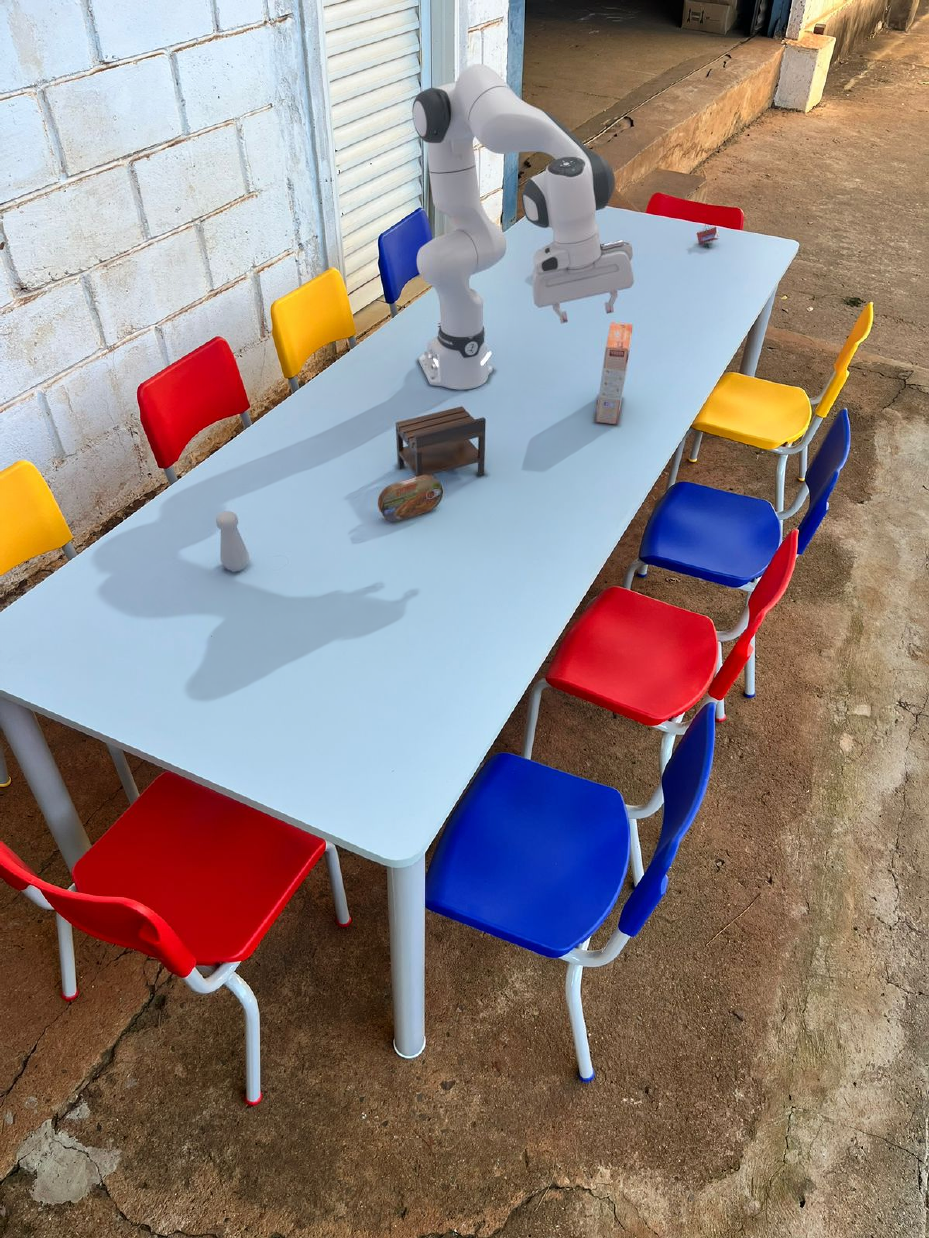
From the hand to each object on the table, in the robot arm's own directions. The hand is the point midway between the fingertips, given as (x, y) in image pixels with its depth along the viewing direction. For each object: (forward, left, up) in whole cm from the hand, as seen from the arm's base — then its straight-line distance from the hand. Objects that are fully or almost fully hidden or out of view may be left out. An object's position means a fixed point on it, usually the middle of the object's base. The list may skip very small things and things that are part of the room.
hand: (586, 317), depth 183 cm
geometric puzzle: (-100, +115, -39) cm, 158 cm away
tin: (-3, -40, -39) cm, 56 cm away
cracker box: (-21, +24, -39) cm, 51 cm away
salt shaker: (-2, -80, -39) cm, 89 cm away
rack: (-15, -27, -39) cm, 50 cm away
